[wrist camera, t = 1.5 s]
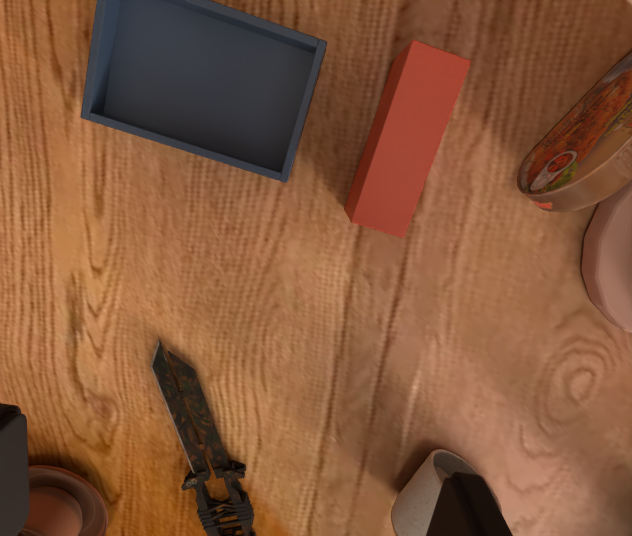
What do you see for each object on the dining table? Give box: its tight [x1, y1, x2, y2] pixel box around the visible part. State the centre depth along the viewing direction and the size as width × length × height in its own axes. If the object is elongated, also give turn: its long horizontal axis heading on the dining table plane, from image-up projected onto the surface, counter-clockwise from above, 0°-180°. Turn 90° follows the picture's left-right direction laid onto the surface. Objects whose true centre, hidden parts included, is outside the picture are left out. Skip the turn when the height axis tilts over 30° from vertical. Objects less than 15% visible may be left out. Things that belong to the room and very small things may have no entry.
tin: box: [517, 53, 632, 213], centre depth 28 cm, size 15×3×8 cm, turn 139°
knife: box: [150, 338, 256, 536], centre depth 40 cm, size 25×6×1 cm, turn 8°
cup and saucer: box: [17, 465, 108, 536], centre depth 39 cm, size 12×12×6 cm
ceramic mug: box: [391, 449, 502, 536], centre depth 38 cm, size 11×8×8 cm
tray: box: [81, 0, 327, 183], centre depth 30 cm, size 16×10×2 cm, turn 73°
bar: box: [344, 40, 471, 238], centre depth 29 cm, size 4×12×6 cm, turn 163°
